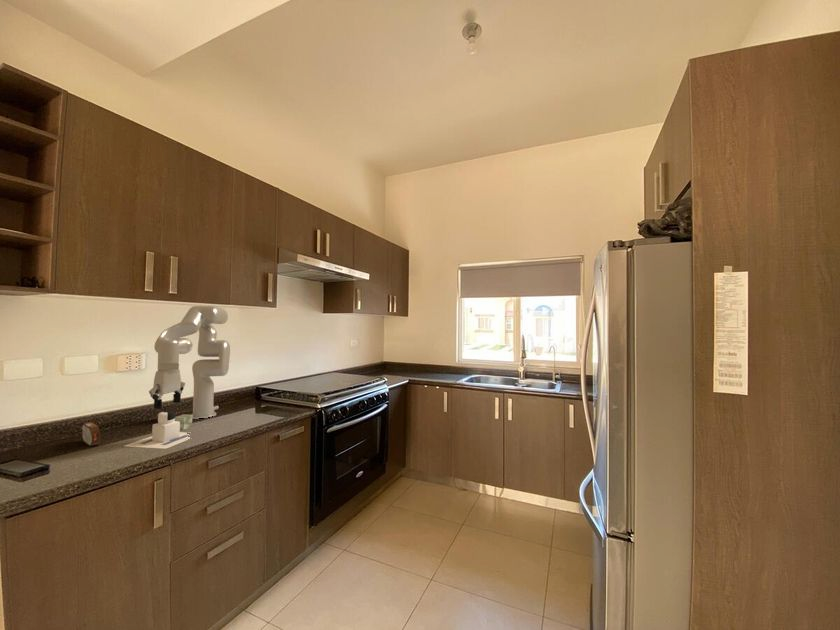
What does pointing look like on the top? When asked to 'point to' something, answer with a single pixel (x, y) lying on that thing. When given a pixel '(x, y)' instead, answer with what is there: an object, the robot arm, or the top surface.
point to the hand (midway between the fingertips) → (167, 405)
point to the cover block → (184, 421)
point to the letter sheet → (154, 444)
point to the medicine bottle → (166, 427)
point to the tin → (91, 434)
